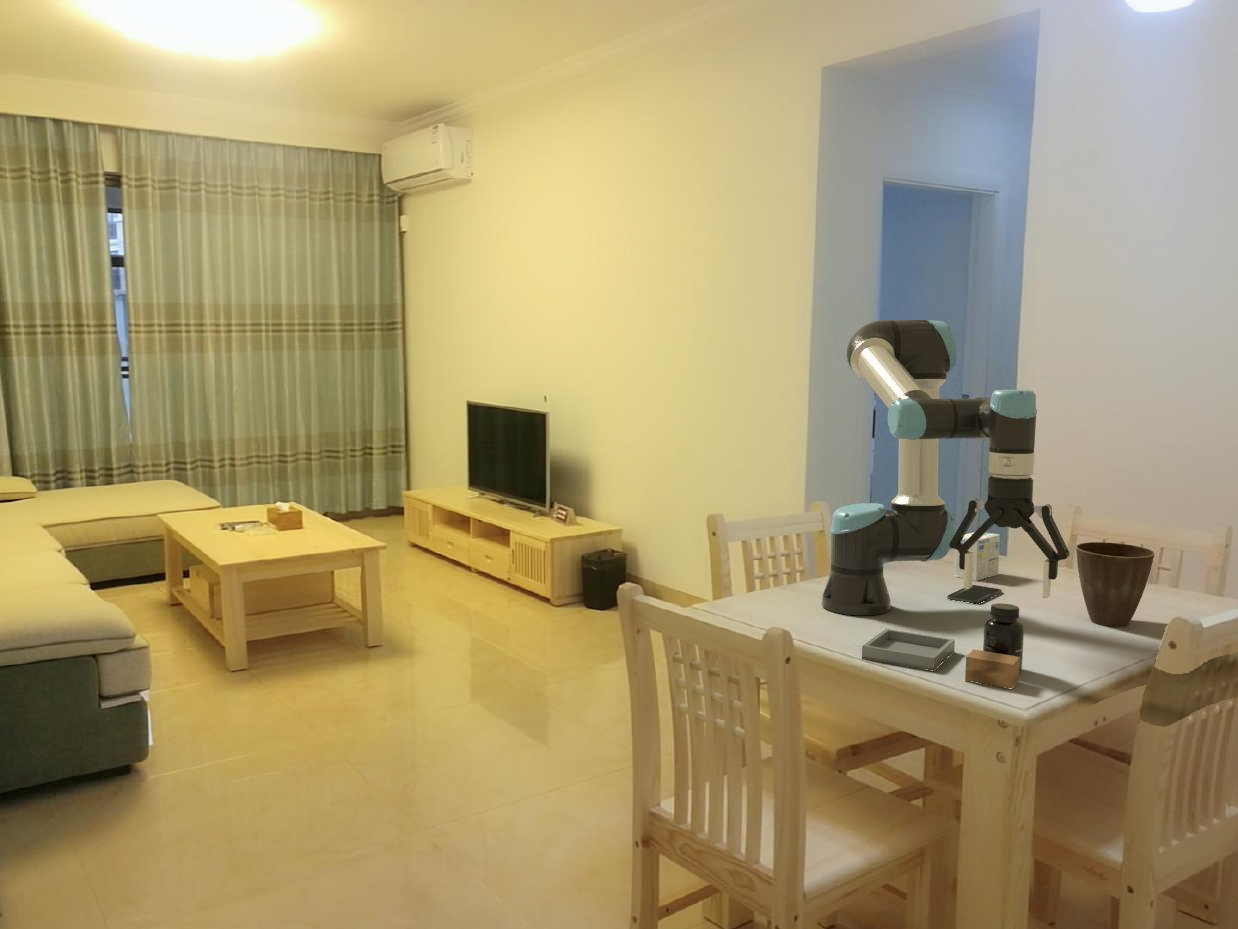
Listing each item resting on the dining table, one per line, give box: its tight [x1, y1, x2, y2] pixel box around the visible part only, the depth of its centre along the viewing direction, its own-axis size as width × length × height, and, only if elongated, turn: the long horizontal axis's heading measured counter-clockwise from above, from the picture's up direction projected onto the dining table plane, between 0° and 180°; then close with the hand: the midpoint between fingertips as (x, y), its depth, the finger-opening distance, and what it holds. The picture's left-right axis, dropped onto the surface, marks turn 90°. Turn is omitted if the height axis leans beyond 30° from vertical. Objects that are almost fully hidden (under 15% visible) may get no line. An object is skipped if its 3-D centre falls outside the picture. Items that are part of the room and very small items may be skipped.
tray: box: [861, 628, 956, 672], centre depth 190 cm, size 14×14×2 cm
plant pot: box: [1075, 541, 1155, 628], centre depth 211 cm, size 15×15×16 cm
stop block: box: [964, 649, 1020, 689], centre depth 175 cm, size 8×5×4 cm, turn 56°
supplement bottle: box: [982, 602, 1025, 674], centre depth 181 cm, size 7×7×12 cm
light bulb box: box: [953, 531, 1001, 582], centre depth 254 cm, size 11×7×11 cm, turn 130°
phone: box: [946, 584, 1003, 605], centre depth 235 cm, size 8×1×15 cm
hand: (1006, 592), depth 180 cm, fingers open, 13 cm apart
